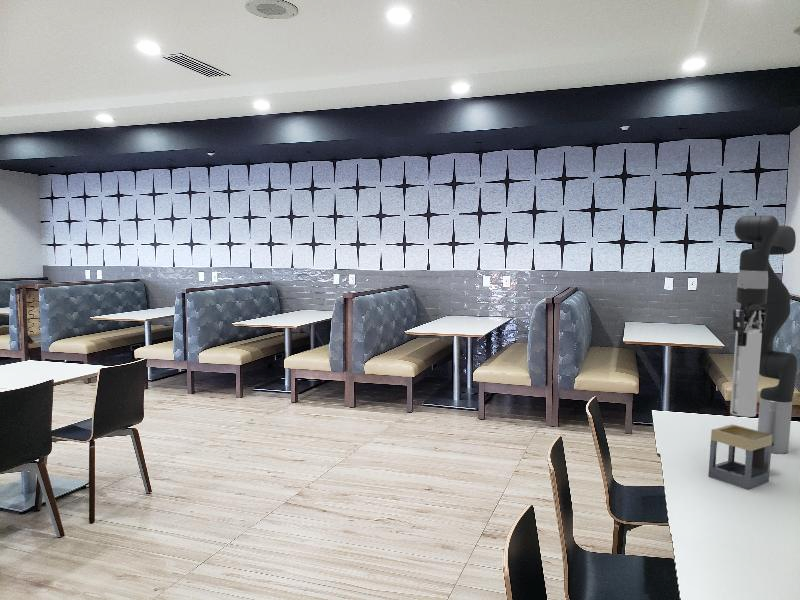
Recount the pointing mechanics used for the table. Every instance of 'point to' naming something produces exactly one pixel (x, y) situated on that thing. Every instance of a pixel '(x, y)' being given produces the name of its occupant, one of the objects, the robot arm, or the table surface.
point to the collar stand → (749, 442)
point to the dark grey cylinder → (759, 457)
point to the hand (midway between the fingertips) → (748, 344)
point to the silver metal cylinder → (746, 375)
